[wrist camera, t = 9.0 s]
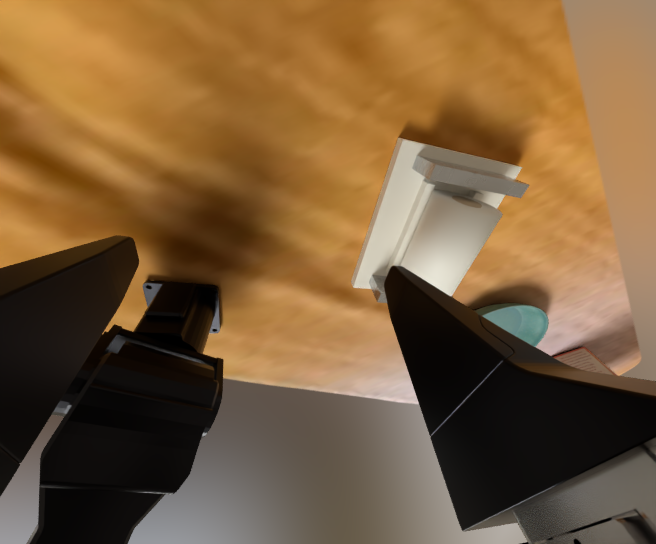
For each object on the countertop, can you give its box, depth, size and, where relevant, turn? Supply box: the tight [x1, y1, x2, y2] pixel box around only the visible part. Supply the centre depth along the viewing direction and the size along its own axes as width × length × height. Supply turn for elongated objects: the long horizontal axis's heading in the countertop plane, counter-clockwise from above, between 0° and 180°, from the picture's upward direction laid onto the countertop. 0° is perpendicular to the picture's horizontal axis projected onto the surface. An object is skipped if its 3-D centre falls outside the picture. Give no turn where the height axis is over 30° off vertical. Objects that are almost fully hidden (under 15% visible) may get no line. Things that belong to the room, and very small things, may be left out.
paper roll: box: [400, 190, 502, 296], centre depth 22 cm, size 8×5×5 cm, turn 168°
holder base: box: [351, 137, 522, 289], centre depth 24 cm, size 14×11×2 cm
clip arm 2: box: [412, 155, 529, 198], centre depth 19 cm, size 1×8×3 cm, turn 78°
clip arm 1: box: [369, 275, 453, 303], centre depth 26 cm, size 1×8×3 cm, turn 78°
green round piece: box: [475, 303, 549, 347], centre depth 35 cm, size 15×15×3 cm
